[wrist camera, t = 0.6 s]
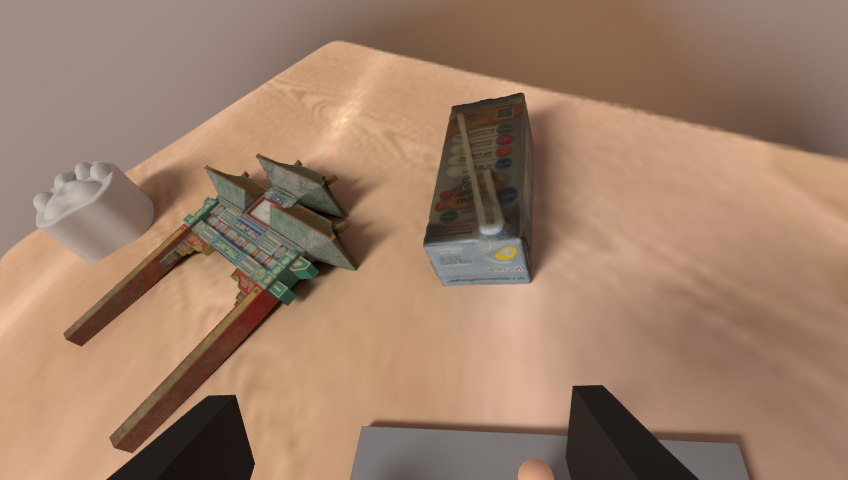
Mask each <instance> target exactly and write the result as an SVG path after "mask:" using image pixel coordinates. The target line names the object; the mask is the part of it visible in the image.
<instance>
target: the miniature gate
mask: <svg viewBox="0 0 848 480" xmlns="http://www.w3.org/2000/svg"><path fill="white" fill-rule="evenodd" d="M256 157H257V158H258V160H259V162H260V163H261V165H262V167H263V169H264V171H265V172H266V174H267V176H268V178H269V180H270V181H271V183H272V185H271V188H270V189H268V188H266V187H264V186H262V185H261V184H259V183H257V182H255V181H253V180H251V179H249V178H248V177H249V174H248V173H247V172H246V171H245V172H244V173H243V174H242V176H233V175H229V174H225V173H222V172H220V171H218V170H216V169H213V168H211V167H209V166H208V165H207V166H206V167H204V169H206V171H207V173H208V175H209V177H210V179H211V181H212V183H213V185H214V187H215V189H216V191H217V193H218V195H219V196H218V195H217V198H216V199H213V198H211V197H209V196H208V197H207V198H206V199H205V200H204V202H203V207H202V208H201V209H200V210H199V211H197V212H196V213H195V214H194V215H192V214H190V213H189V214H188V215H187V216H186V217H185V218H184V219H183V221H184V222H185V223H184V224H183V225H182V226H181V227H180V228H179V229H178V230H177V231H175V232H174V233H173V234H172V235H171V236H170V237H169V238H168V239H167V240H166V241H164V242H163V243H162V244H161V245H160V246H159V247H158V248H157V249H156V250H155V251H153V252H152V253H151V254H150V255H149V256H148V257H147V258H146V259H145V260H144V261H142V262H141V263H140V264H139V265H138V266H137V267H136V268H135V269H134V270H133V271H131V272H130V273H129V274H128V275H127V276H126V277H125V278H124V279H123V280H122V281H120V282H119V283H118V284H117V285H116V286H115V287H114V288H113V289H112V290H111V291H109V292H108V293H107V294H106V295H105V296H104V297H103V298H102V299H101V300H100V301H98V302H97V303H96V304H95V305H94V306H93V307H92V308H91V309H90V310H89V311H88V312H86V313H85V314H84V315H83V316H82V317H81V318H80V319H79V320H78V321H77V322H75V323H74V324H73V325H72V326H71V327H70V328H69V329H68V330H67V331H66V332H64V333H63V334H64V336H65V338H66V340H68V341H70V342H73V343H75V344H77V345H79V346H83V345H84V344H85V343H86V342H87V341H89V340H90V339H91V338H92V337H93V336H95V335H96V334H97V333H98V332H99V331H101V330H102V329H103V328H104V327H105V326H106V325H108V324H109V323H110V322H111V321H112V320H114V319H115V318H116V317H117V316H118V315H120V314H121V313H122V312H123V311H124V310H126V309H127V308H128V307H129V306H130V305H132V304H133V303H134V302H135V301H136V300H138V299H139V298H140V297H141V296H142V295H143V294H144V293H145V292H146V291H147V290H148V289H149V288H150V287H151V286H153V285H154V284H155V283H156V282H157V281H158V280H159V279H160V278H161V277H162V276H163V275H164V274H165V273H166V272H167V271H168V270H170V269H171V268H172V267H173V266H174V265H175V264H176V263H177V262H178V261H179V260H180V259H181V258H182V257H183V256H184V255H186V254H187V253H188V254H191V253H192V252H193V251H195V250H196V251H198V252H199V251H202V253H204V254H205V255H206V256H209V255H210V254H211V253H213V252H214V251H215V250H217V251H218V252H219V253H220V254H222V255H223V256H224V257H225V258H227V259H228V260H229V261H230V262H231V263H233V264H234V265H235V266H236V267H237V269H236V270H235V271H234V272H233V274H232V275H231V276H230V277H231V278H233V279H234V280H235V281H236V282H237V281H239V282H238V288H239V289H240V290H241V291H240V292H239V293H238V295H237V296H236V299H237V301H236V303H235V304H234V306H235V307H234V308H233V309H232V310H231V311H230V312H229V313H228V314H227V315H226V316H225V318H224V319H223V320H222V321H221V322H220V323H219V324H218V325H217V326H216V327H215V328H214V329H213V330H212V331H211V332H210V333H209V334H208V335H207V336H206V337H205V338H204V339H203V340H202V341H201V342H200V344H199V345H198V346H197V347H196V348H195V349H194V350H193V351H192V352H191V353H190V354H189V355H188V356H187V357H186V358H185V359H184V360H183V361H182V362H181V363H180V364H179V365H178V366H177V367H176V368H175V370H174V371H173V372H172V373H171V374H170V375H169V376H168V377H167V378H166V379H165V380H164V381H163V382H162V383H161V384H160V385H159V386H158V387H157V388H156V389H155V390H154V391H153V392H152V393H151V394H150V396H149V397H148V398H147V399H146V400H145V401H144V402H143V403H142V404H141V405H140V406H139V407H138V408H137V409H136V410H135V411H134V412H133V413H132V414H131V415H130V416H129V417H128V418H127V419H126V421H125V422H124V423H123V424H122V425H121V426H120V427H119V428H118V429H117V430H116V431H115V432H114V433H113V434H112V435H111V436H110V437H109V438H110V440H111V442H112V445H113V447H114V448H116V449H120V450H123V451H127V452H130V453H133V452H134V451H135V450H136V449H137V448H138V447H139V446H140V445H141V444H142V443H143V442H144V441H145V440H146V439H147V438H148V437H149V436H150V435H151V434H152V433H153V432H154V431H155V430H156V429H157V428H159V427H160V426H161V425H162V424H163V423H164V422H165V421H166V420H167V419H168V418H169V417H170V416H171V415H172V414H173V413H174V412H175V411H176V410H177V409H178V408H179V407H180V406H181V405H182V404H183V403H184V402H185V401H186V400H187V399H188V398H189V397H190V396H191V395H192V394H193V393H194V392H195V391H196V390H197V389H198V388H199V387H200V386H201V385H202V384H203V383H204V382H205V381H206V380H207V379H208V378H209V376H210V375H211V374H212V373H213V372H214V371H215V370H216V369H217V368H218V367H219V366H220V365H221V363H222V362H223V361H224V360H225V359H226V358H227V357H228V356H229V355H230V354H231V353H232V352H233V350H234V349H235V348H236V347H237V346H238V345H239V344H240V343H241V342H242V341H243V340H244V339H245V337H246V336H247V335H248V334H249V333H250V332H251V331H252V330H253V329H254V328H255V327H256V326H257V324H258V323H259V322H260V321H261V320H262V319H263V318H264V317H265V316H266V315H267V314H268V313H269V311H270V310H271V309H272V308H273V307H274V306H275V305H276V304H277V303H278V302H279V301H280V300H281V301H282V302H283V303H285V304H286V305H287V306H288V305H289V304H290V303H291V302H292V301H293V300H294V299H295V298H296V297H297V296H296V295H295V294H294V293H293V292H292V291H291V290H290V289H291V288H292V287H293V285H294V284H295V283H296V282H297V281H298V280H299V279H308V278H314V277H315V276H316V275H317V273H318V272H319V271H318V270H317V269H316V268H315V267H314V266H313V265H312V264H311V262H314V260H317V261H321V262H324V263H328V264H331V265H334V266H338V267H341V268H345V269H348V270H353V271H356V270H357V267H358V264H357V263H356V262H355V260H354V259H353V258H352V256H351V255H350V254H349V252H348V251H347V250H346V248H345V246H344V245H343V243H342V241H341V240H340V238H339V235H338V233H341V232H342V231H343V230H345V229H346V228H347V227H349V225H348V224H347V222H345V221H344V222H342V223H338V224H335V223H332V222H331V221H330V220H328V219H326V218H324V217H322V216H320V215H318V214H316V213H314V212H312V211H310V210H309V209H313V210H316V211H320V212H323V213H327V214H330V215H334V216H337V217H341V218H344V219H347V218H348V217H349V216H348V215H347V214H346V212H345V211H344V210H343V208H342V207H341V206H340V205H339V203H338V202H337V201H336V199H335V198H334V196H333V195H332V193H331V191H330V190H329V187H328V185H330V184H332V183H333V182H334V181H336V180H337V179H338V178H337V177H336V175H334V174H333V175H331V176H327V177H325V176H323V175H321V174H319V173H317V172H314V171H312V170H309V169H307V168H305V167H302V166H301V165H302V163H301V162H300V161H299V160H297V162H296V163H295V164H294V165H288V164H283V163H278V162H276V161H274V160H271V159H269V158H267V157H264V156H262V155H260V154H258V155H256ZM307 208H309V209H307Z"/></svg>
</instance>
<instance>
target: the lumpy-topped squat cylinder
mask: <svg viewBox="0 0 848 480" xmlns="http://www.w3.org/2000/svg"><path fill="white" fill-rule="evenodd" d="M54 185H55V186H54V187H53V188H52V190H51V191H50V192H43V193H40V194H38V195H36V197H35V198H34V201H33V203H34V206H35V208H36V209H37V211H38V212H37V216H36V217H37V218H36V224H37V226H38V227H39V228H40V229H42V230H43V231H45V232H46V233H48V234H49V235H50V236H52V237H53V238H54V239H56V240H57V241H58V242H60V243H61V244H62V245H64V246H65V247H67V248H68V249H69V250H71V251H72V252H74V253H75V254H76V255H78V256H79V257H81V258H82V259H83V260H85V261H86V262H88V263H95V262H98V261H101V260H102V259H104V258H106V257H107V256H109V255H110V254H112V253H113V252H115V251H116V250H118V249H119V248H121V247H123V246H125V245H127V244H129V243H131V242H133V241H135V240H136V239H138V238H139V237H141V236H142V235H143V234H144V233H145V232H146V231H147V230H148V229H149V227H150V226H151V224H152V222H153V219H154V206H153V202H152V200H151V199H150V198H149V197H148V196H147V195H146V194H145V193H144V192H143V191H141V190H140V189H139V188H138V187H137V186H136V185H135V184H134V183H133V182H132V181H131V180H130V179H129V178H128V177H127V176H126V175H125V174H124V173H123V172H122V171H121V170H120V169H119V168H118V167H117V166H116V165H114V164H113V163H111V162H107V161H97V162H93V163H86V162H81V163H79V164H77V165H76V167H75V171H73V172H65V173H61V174H59V175H58V176H56V178H55V181H54Z"/></svg>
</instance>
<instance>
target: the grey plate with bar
mask: <svg viewBox="0 0 848 480" xmlns="http://www.w3.org/2000/svg"><path fill="white" fill-rule="evenodd" d="M567 438H568V436H564V435H543V434H521V433H499V432H478V431H456V430H435V429H413V428H391V427H370V426H362V427H361V432H360V436H359V441H358V446H357V450H356V455H355V459H354V464H353V468H352V473H351V478H350V480H571V478H570V474H569V470H568V466H567V462H566V458H565V457H566V448H567ZM658 441H659V442H660V443H661V444H662V445H663V446H664V447H665V448H666V449H667V450H668V451H670V452H671V453H672V454H673V455H674V456H675V457H676V458H677V459H678V460H679V461H680V462H681V463H682V464H683V465H684V466H685V467H687V468H688V469H689V470H690V471H691V472H692V473H693V474H694V475H695V476H696V477H697V478H698V479H699V480H749V476H748V473H747V470H746V467H745V464H744V461H743V458H742V455H741V452H740V449H739V445H738V444H737V443H715V442H694V441H672V440H658Z"/></svg>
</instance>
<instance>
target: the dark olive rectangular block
mask: <svg viewBox="0 0 848 480" xmlns="http://www.w3.org/2000/svg"><path fill="white" fill-rule="evenodd" d="M532 147H533V145H532V136H531V129H530V124H529V118H528V111H527V106H526V102H525V96H524V94H523V93H517V94H513V95H510V96H506V97H500V98H496V99H486V100H481V101H479V102H474V103H470V104H462V105H457V106H452V111H451V114H450V117H449V124H448V128H447V132H446V137H445V142H444V146H443V152H442V157H441V161H440V166H439V171H438V175H437V181H436V186H435V190H434V195H433V200H432V205H431V211H430V216H429V223H428V225H427V228H426V235H425V238H424V243H423V246H424V249H425V251H426V253H427V255H428V257H429V258H430V262H431V264H432V266H433V269H434V270H435V272H436V275H437V276H438V277H439V278H440V280H441V282H442V283H443V285H444V286H462V285H492V284H493V285H498V284H526V283H530V282H531V222H532V192H533V149H532Z"/></svg>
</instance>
